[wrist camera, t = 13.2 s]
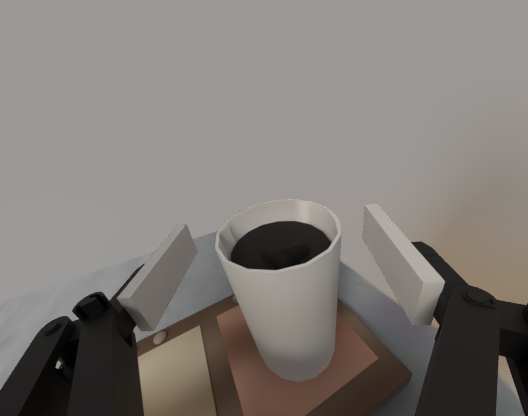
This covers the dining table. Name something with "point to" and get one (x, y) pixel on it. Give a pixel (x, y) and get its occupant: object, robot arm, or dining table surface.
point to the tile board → (260, 370)
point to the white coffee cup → (286, 281)
